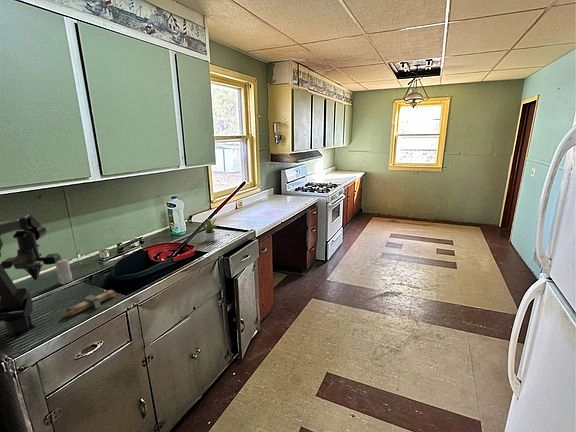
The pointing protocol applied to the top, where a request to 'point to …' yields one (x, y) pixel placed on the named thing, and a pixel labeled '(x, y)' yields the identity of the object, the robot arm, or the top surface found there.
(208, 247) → the top surface
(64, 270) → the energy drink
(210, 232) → the house plant
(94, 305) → the keeper
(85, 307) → the brown long rod
